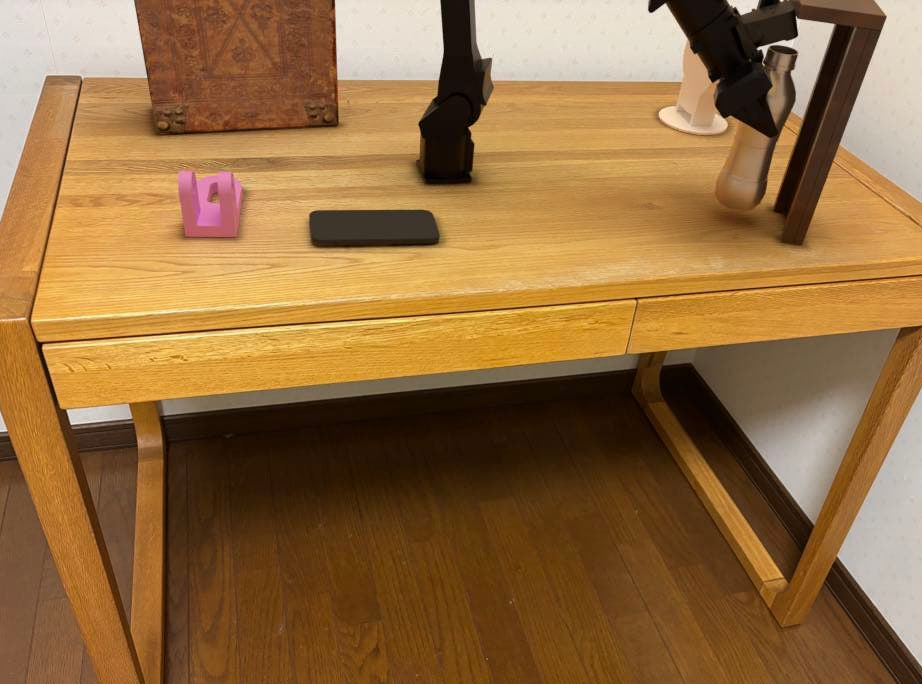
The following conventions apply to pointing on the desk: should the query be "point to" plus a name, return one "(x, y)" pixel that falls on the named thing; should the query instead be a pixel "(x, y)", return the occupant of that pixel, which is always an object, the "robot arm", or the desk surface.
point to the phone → (373, 227)
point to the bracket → (210, 204)
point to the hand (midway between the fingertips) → (771, 126)
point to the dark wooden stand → (827, 105)
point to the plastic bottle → (758, 138)
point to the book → (240, 64)
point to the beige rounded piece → (694, 101)
